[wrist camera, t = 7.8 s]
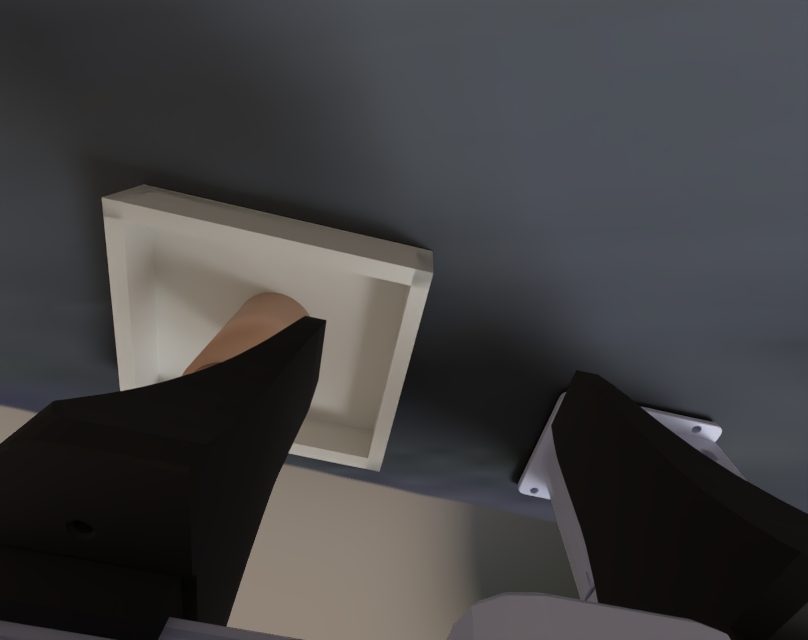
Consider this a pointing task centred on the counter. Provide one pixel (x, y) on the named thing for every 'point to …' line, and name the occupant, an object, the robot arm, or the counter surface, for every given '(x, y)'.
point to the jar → (249, 328)
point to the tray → (267, 273)
